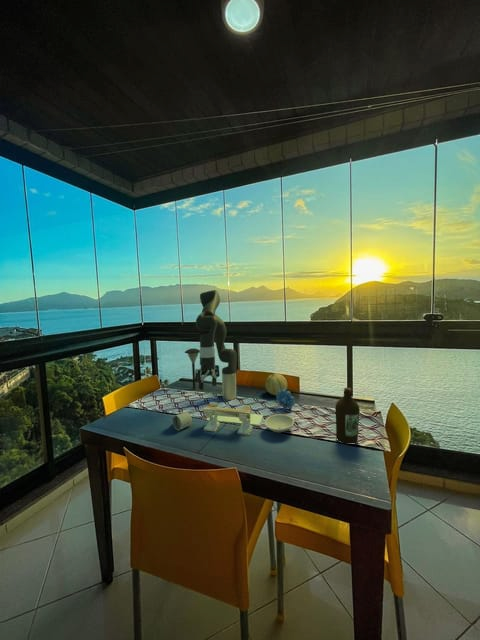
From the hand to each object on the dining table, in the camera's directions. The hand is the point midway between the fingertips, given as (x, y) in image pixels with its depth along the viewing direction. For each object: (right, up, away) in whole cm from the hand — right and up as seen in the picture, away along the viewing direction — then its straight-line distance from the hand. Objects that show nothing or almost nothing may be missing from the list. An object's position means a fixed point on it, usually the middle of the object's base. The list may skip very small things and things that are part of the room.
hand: (207, 387), depth 141 cm
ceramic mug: (-15, -23, +9) cm, 29 cm away
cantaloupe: (+41, -17, +52) cm, 69 cm away
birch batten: (+10, -15, +3) cm, 18 cm away
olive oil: (+67, -23, -8) cm, 71 cm away
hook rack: (+10, -23, +5) cm, 25 cm away
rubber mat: (+13, -21, +17) cm, 31 cm away
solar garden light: (-17, -17, +65) cm, 70 cm away
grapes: (+43, -20, +28) cm, 55 cm away
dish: (+36, -23, +2) cm, 43 cm away
